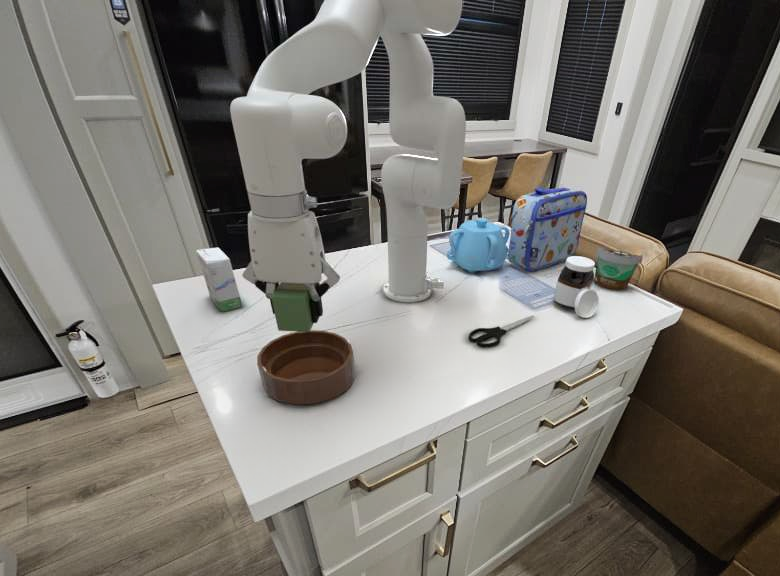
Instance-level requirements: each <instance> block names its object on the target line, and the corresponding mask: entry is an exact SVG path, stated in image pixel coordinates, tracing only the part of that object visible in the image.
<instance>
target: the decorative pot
mask: <svg viewBox="0 0 780 576" xmlns="http://www.w3.org/2000/svg"><path fill="white" fill-rule="evenodd" d="M503 230H504V233H503ZM510 236H511V231H510V230H509V228H508V227H507V226H506V225H501V224H500V225H498V224H495V223H493V222H491V221H489V219H487V218H484V217H477V218H475V220H473V219H468V220H465V222H463V223H461V224H460V226H459V227H458V228H456V229H454V230H452V231H451V232H450V234H449V236H448V240H449V245H450V250H448V251H447V253H446V258H447V259H448V260H450V261H454V262H455V263H456V265H458V266H459V268H462V269H464V270H467V272H468V273H471V274H472V273H473V274H475V273H477V272H478V271H481V272H482V271H496V270H497V269H498V268H500V267H501V266H502V265H503V264H504V263H505V261H506V259H507V255H508V250H509V246H507V242H509V241H508V240H509V239H510Z"/></svg>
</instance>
